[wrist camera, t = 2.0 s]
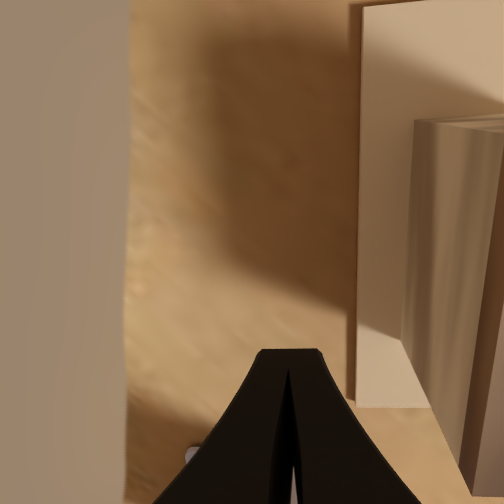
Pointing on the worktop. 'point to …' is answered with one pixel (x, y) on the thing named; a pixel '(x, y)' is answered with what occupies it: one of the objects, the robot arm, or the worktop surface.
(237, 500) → the robot arm
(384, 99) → the beige square board
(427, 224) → the maple block
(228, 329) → the worktop surface
